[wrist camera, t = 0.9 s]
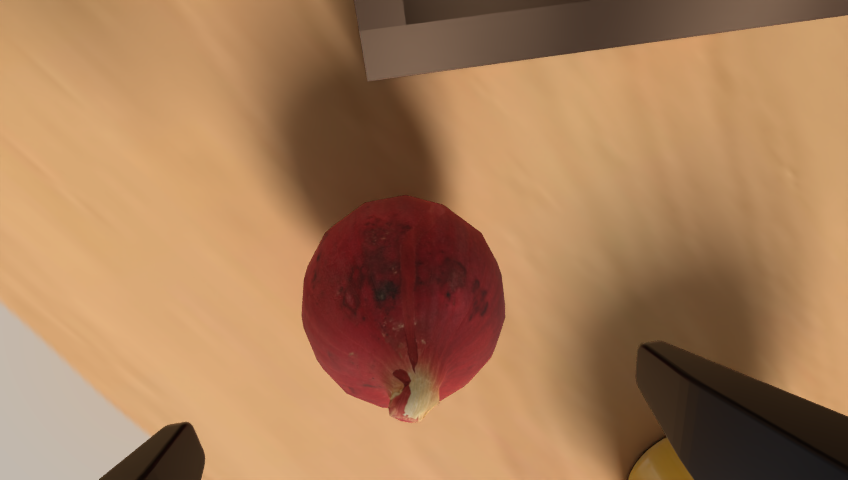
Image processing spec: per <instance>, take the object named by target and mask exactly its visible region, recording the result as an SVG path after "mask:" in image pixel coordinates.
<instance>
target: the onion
mask: <svg viewBox="0 0 848 480" xmlns="http://www.w3.org/2000/svg"><path fill="white" fill-rule="evenodd" d="M504 320H505V301H504V292H503V284H502V275H501V272H500V269H499V266H498V264H497V261H496V259H495V258H494V256H493V254H492V252H491V250H490V248H489V246H488V244H487V243H486V241H485V239H484V237H483V235H482V233H481V232H479V231H478V230H477V229H475V228H474V227H473V226H471V225H470V224H469V223H467V222H466V221H464V220H463V219H462V218H460V217H459V216H458V215H456V214H455V213H454V212H452V211H451V210H450V209H448V208H447V207H446V206H444V205H442V204H438V203H434V202H431V201H427V200H423V199H419V198H415V197H412V196H408V195H402V196H397V197H392V198H386V199H381V200H376V201H371V202H365V203H364V204H362V205H361V206H360V207H358V208H357V209H356V210H354V211H353V212H351V213H350V214H349V215H347V216H346V217H345V218H343V219H342V220H341V221H339V222H338V223H336V224H335V225H334V226H333V227H331V228H330V229H329V230H328V231H327V232H326V233H325V234H324V236H323V238H322V240H321V242H320V244H319V246H318V248H317V249H316V251H315V253H314V255H313V257H312V259H311V261H310V263H309V265H308V267H307V270H306V274H305V277H304V286H303V301H302V321H303V327H304V330H305V332H306V335H307V337H308V339H309V342H310V344H311V347H312V349H313V351H314V354H315V356H316V358H317V360H318V362H319V363H320V365H321V366H322V368H323V369H324V370H325V371H326V372H327V373H328V374H329V375H330V376H331V377H332V379H333V380H334V381H335V382H336V383H337V384H338V385H339V386H340V387H341V388H342V389H343V390H344V391H345V392H346V393H347V394H349V395H352V396H354V397H356V398H359V399H361V400H364V401H367V402H369V403H372V404H374V405H377V406H380V407H382V408H389V414H390V416H391V417H394V418H396V419H398V420H400V421H404V422H421V421H422V419H423V418H424V417H425V415H426V414H427V413H428V412H429V411H430V410H431V409H433V408H434V407H435V406H436V405H438V404H439V401H441V400H443V399H444V398H446V397H447V396H449V395H451V394H452V393H454V392H456V391H457V390H459V389H461V388H462V387H464V386H465V385H466V384H467V383H468V382H469V381H470V380H471V379H472V378H473V377H474V376H475V375H476V374H477V373H478V372H479V370H480V369H481V368H482V367H483V366H484V365H485V364H486V363H487V361H488V360H489V359H490V358H491V356H492V354H493V352H494V350H495V347H496V344H497V341H498V338H499V335H500V332H501V329H502V326H503V323H504Z"/></svg>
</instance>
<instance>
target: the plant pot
mask: <svg viewBox="0 0 848 480" xmlns="http://www.w3.org/2000/svg"><path fill="white" fill-rule="evenodd" d="M628 480H694V479H693V478H692V476H691V475H690V474H689V472H688V471H687V469H686V468H685V466H684V465H683V463H682V462H681V460H680V459H679V457H678V456H677V454H676V452H675V451H674V449H673V447H672V446H671V444H670V442H669V440H668V439H667V437H666V438H664V439H662V440H661V441H659V442H658V443H656V444H655V445H653V446H652V447H651V448H650V449H648V450H647V451H646V452H645V453H644V454H643V455H642V456H641V457H640V459H639V460H638V461H637V462H636V464H635V465H634V467H633V469H632V471H631V473H630V476H629V478H628Z"/></svg>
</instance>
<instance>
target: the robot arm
mask: <svg viewBox="0 0 848 480" xmlns="http://www.w3.org/2000/svg"><path fill="white" fill-rule="evenodd" d="M636 382H637V385H638V387H639V389H640V391H641V393H642V395H643V396H644V398H645V400H646V402H647V403H648V405H649V407H650V409H651V410H652V412H653V414H654V416H655V418H656V419H657V421H658V423H659V425H660V426H661V428H662V430H663V432H664V433H665V435H666V437H667V439H668V440H669V442H670V444H671V446H672V447H673V449H674V451H675V452H676V454H677V456H678V457H679V459H680V460H681V462H682V463H683V465H684V466H685V468H686V469H687V471H688V472H689V474H690V475H691V476H692V478H693V479H694V480H848V416H845V415H843V414H840V413H838V412H836V411H833V410H831V409H828V408H826V407H823V406H821V405H818V404H816V403H813V402H811V401H808V400H806V399H804V398H801V397H799V396H796V395H794V394H791V393H789V392H786V391H784V390H781V389H779V388H776V387H774V386H772V385H769V384H767V383H764V382H762V381H759V380H757V379H754V378H752V377H749V376H747V375H744V374H742V373H740V372H737V371H735V370H732V369H730V368H727V367H725V366H722V365H720V364H717V363H715V362H712V361H710V360H707V359H705V358H703V357H700V356H698V355H695V354H693V353H690V352H688V351H685V350H683V349H680V348H678V347H675V346H673V345H671V344H668V343H666V342H663V341H651V342H645V343H642V344H640V345H639V346H638V349H637V361H636ZM204 465H205V454H204V451H203V448H202V446H201V444H200V441H199V439H198V437H197V434H196V432H195V430H194V428H193V426H192V425H191V424H190V423H189V422H182V423H176V424H170V425H167V426H165V427H163V428H162V429H161V430H160V431H158V432H157V433H156V434H155V435H153V436H152V437H151V438H150V439H148V440H147V441H146V442H145V443H143V444H142V445H141V446H140V447H138V448H137V449H136V450H135V451H134V452H132V453H131V454H130V455H129V456H127V457H126V458H125V459H124V460H123V461H121V462H120V463H119V464H117V465H116V466H115V467H114V468H112V469H111V470H110V471H109V472H107V474H105V475H104V476H103V477H101V478H100V479H99V480H201V478H202V474H203V469H204Z"/></svg>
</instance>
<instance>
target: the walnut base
mask: <svg viewBox="0 0 848 480" xmlns="http://www.w3.org/2000/svg"><path fill="white" fill-rule="evenodd" d="M354 3H355V9H356V15H357V21H358V27H359V33H360V39H361V45H362V51H363V57H364V63H365V69H366V75H367V81H374V80H382V79H389V78H396V77H403V76H411V75H418V74H425V73H432V72H440V71H447V70H454V69H461V68H468V67H476V66H483V65H490V64H497V63H505V62H512V61H519V60H526V59H534V58H541V57H548V56H555V55H563V54H570V53H577V52H584V51H592V50H599V49H606V48H613V47H620V46H628V45H635V44H642V43H649V42H657V41H664V40H671V39H678V38H686V37H693V36H700V35H707V34H715V33H722V32H729V31H736V30H744V29H751V28H758V27H765V26H772V25H780V24H787V23H794V22H801V21H809V20H816V19H823V18H830V17H838V16H845V15H848V0H354Z"/></svg>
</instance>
